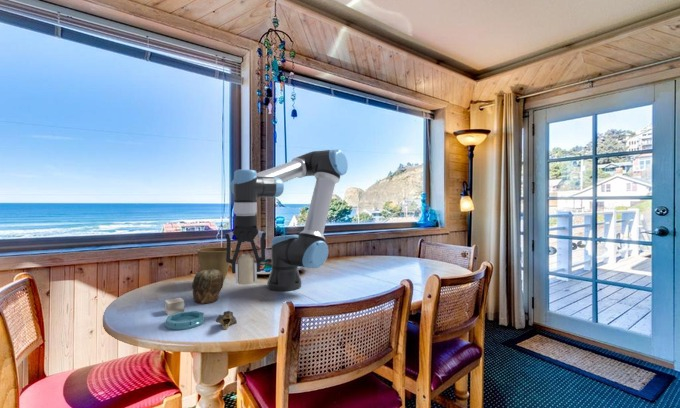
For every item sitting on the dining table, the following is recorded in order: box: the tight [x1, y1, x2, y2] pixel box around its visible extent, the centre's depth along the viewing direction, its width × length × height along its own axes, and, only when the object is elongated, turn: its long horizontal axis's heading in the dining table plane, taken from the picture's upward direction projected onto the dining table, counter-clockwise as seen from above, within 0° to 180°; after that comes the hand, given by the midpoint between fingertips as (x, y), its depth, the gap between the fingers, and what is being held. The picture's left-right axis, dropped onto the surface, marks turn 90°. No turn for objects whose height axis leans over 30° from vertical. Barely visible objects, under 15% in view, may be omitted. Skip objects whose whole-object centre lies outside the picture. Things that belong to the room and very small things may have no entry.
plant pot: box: [196, 246, 233, 283], centre depth 149 cm, size 15×15×16 cm
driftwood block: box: [164, 297, 185, 316], centre depth 113 cm, size 5×5×4 cm
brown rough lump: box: [191, 269, 224, 304], centre depth 125 cm, size 11×11×12 cm
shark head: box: [215, 310, 237, 331], centre depth 100 cm, size 8×6×7 cm
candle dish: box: [164, 310, 205, 331], centre depth 103 cm, size 11×11×2 cm
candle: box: [237, 253, 255, 286], centre depth 113 cm, size 6×6×10 cm
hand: (246, 281), depth 113 cm, fingers closed on candle, 5 cm apart
